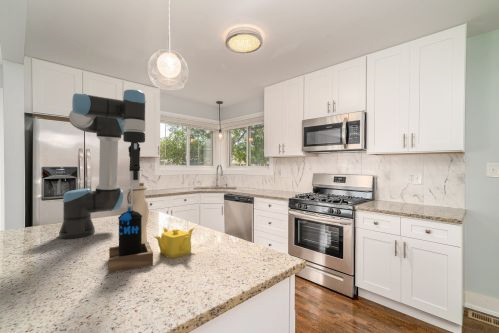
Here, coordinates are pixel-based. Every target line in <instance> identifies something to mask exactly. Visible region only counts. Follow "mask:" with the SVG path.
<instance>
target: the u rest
mask: <svg viewBox="0 0 499 333" xmlns="http://www.w3.org/2000/svg"><path fill="white" fill-rule="evenodd" d="M108 249H109V252H108V253H109V255H108V257H109V258H108V274H113V273H117V272H123V271H129V270H134V269H139V268H144V267H149V266H154V251H153V250H152V247H151V245H150V242H149V241H147V242H144V243H142V253H140V254H133V255H127V256H121V257H119V245H117V246H110V247H109V248H108Z"/></svg>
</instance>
